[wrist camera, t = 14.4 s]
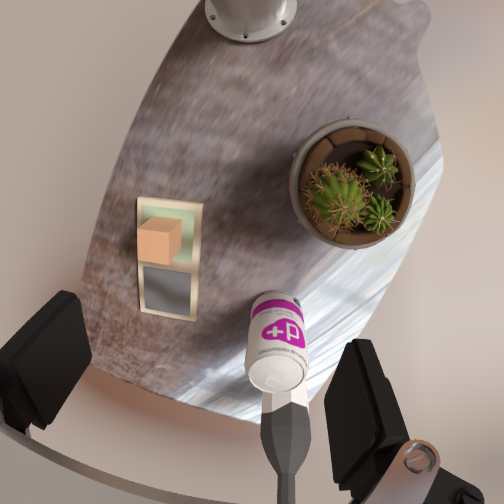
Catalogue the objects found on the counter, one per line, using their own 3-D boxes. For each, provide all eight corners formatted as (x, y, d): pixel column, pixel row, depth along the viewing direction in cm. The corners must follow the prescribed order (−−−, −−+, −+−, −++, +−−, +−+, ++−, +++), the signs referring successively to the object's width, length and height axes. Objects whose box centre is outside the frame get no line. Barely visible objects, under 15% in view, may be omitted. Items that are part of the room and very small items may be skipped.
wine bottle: (278, 391, 56) (276, 528, 29) (255, 368, 54) (241, 517, 27) (313, 375, 54) (328, 518, 26) (291, 350, 52) (297, 508, 24)
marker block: (153, 215, 43) (137, 228, 37) (182, 219, 43) (169, 232, 37) (153, 244, 44) (137, 260, 39) (181, 248, 44) (168, 265, 39)
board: (140, 196, 43) (137, 198, 42) (203, 203, 43) (202, 205, 42) (142, 308, 51) (140, 311, 49) (197, 318, 50) (195, 322, 49)
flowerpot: (388, 125, 37) (469, 127, 18) (379, 227, 42) (442, 294, 24) (286, 116, 37) (299, 100, 19) (283, 224, 43) (292, 295, 25)
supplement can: (263, 281, 47) (259, 342, 33) (310, 299, 48) (322, 363, 34) (243, 320, 50) (234, 385, 36) (288, 336, 51) (291, 402, 37)
